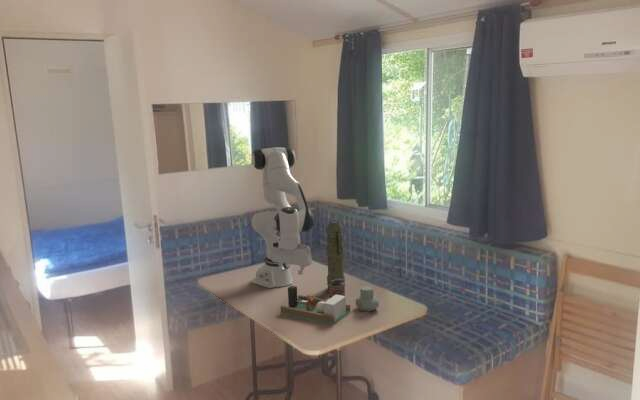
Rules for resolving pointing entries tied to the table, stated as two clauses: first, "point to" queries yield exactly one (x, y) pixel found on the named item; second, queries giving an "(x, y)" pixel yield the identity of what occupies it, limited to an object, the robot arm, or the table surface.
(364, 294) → the air freshener
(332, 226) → the thermos
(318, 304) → the ball
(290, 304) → the rod
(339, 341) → the table surface
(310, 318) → the pitch
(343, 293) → the lighter
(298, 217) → the robot arm
